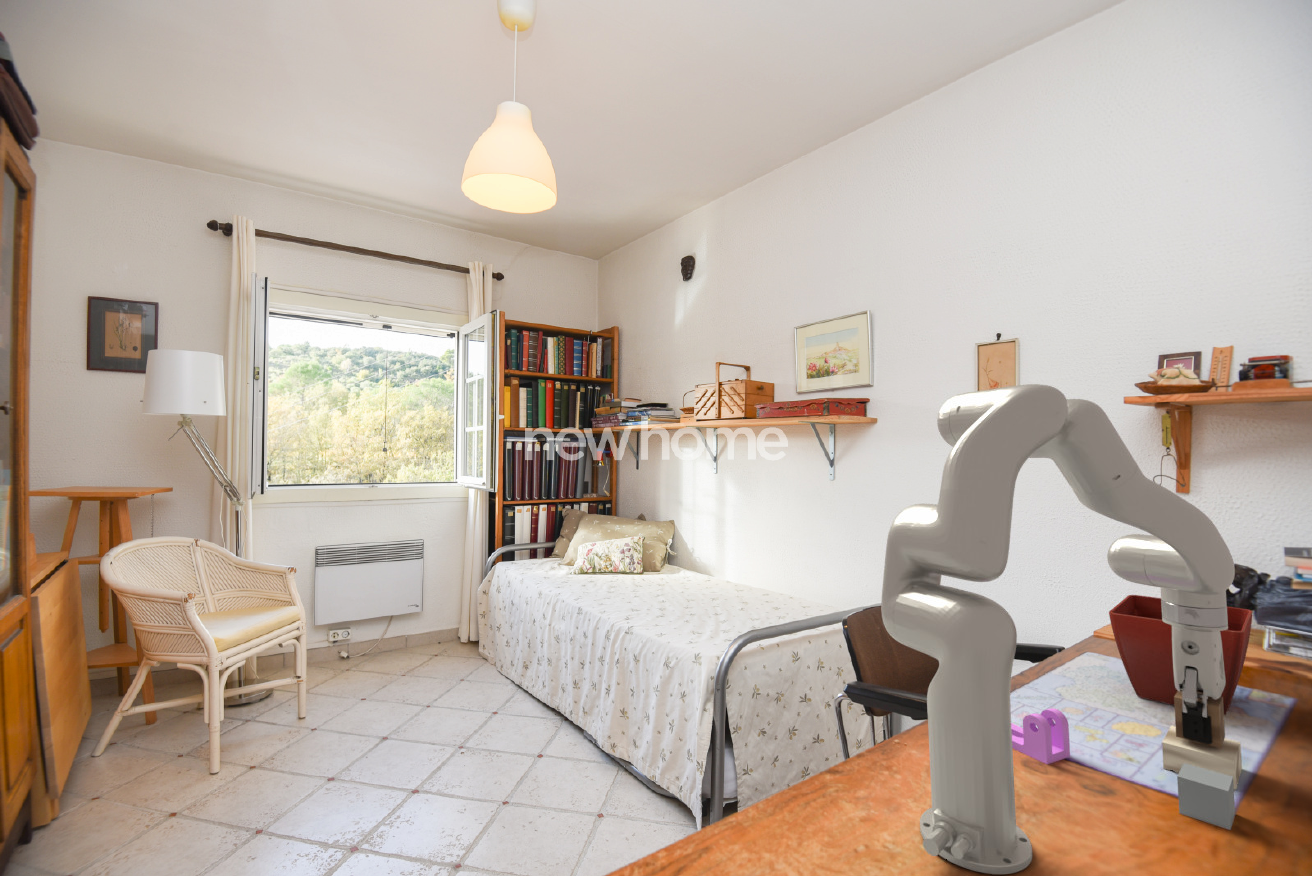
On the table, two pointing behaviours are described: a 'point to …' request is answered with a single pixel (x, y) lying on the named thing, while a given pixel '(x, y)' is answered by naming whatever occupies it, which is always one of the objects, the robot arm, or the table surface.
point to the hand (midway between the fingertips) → (1200, 733)
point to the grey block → (1206, 795)
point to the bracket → (1043, 736)
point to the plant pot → (1170, 647)
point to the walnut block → (1213, 711)
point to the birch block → (1202, 755)
